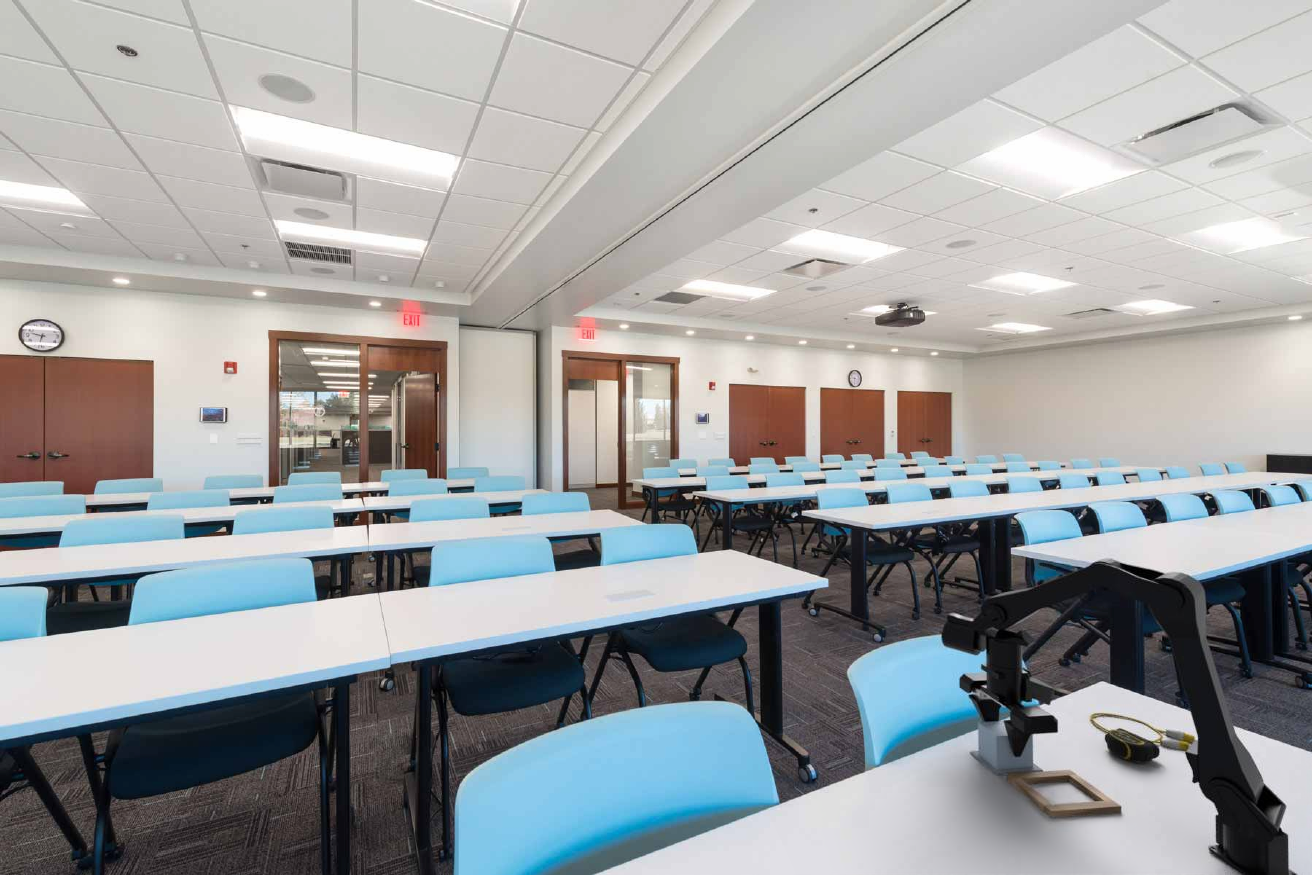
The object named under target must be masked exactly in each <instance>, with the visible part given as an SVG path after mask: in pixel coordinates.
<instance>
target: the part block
mask: <svg viewBox="0 0 1312 875" xmlns="http://www.w3.org/2000/svg"><path fill="white" fill-rule="evenodd" d="M977 732H978V733H977V734H978V735H977V737H978V738H977V740H978V743H977V744H978V745H977V746H978V747H977V748H978V750H977V751H979V755H980V756H981V757H983V758H984V759H985V760H986V761H987V762H988V763H990V764H991V765H992V766H993V767H994V768H995V769H1013V768H1029V767H1033V763H1034V738H1033V737H1034V734H1031V736H1030V738H1029V739H1028V742H1027V744H1026V746H1025V748H1024V751H1023V753H1022V755H1021V757H1015V756H1014V754H1013V752H1012V749H1011V746H1010V742H1009V739H1008V735H1007V732H1006V728H1005V725H1004V721H1003V720H999V721H994V722H983V721H979V722H977Z"/></svg>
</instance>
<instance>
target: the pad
mask: <svg viewBox="0 0 1312 875" xmlns="http://www.w3.org/2000/svg"><path fill="white" fill-rule="evenodd" d="M969 754H971V755H972V756H973V757H974V758H975V759H977V761H979V762H980V763H981V764H982V765H984V766H985V767H986V769H988V770H989V771H991V772H992V773H993V774H994V775H996V776H997V775H1007V774H1011V773H1026V772H1041V771H1044V770H1043V769H1042V768H1040V766H1038V765H1037V764H1035V763H1034V762H1033V767H1029V768H1013V769H995V768H994V767H993V766H992V765H991V764H990V763H988V762H987V761H986V760H985V759H984V758H983V757H981V756H980V755H979V751H978V750H971V751H970V752H969Z"/></svg>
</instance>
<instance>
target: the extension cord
mask: <svg viewBox="0 0 1312 875" xmlns="http://www.w3.org/2000/svg"><path fill="white" fill-rule="evenodd" d="M1112 716H1114V717H1113V718H1119V717H1120V719H1124V718H1125V719H1124V720H1128V721H1129V720H1130V721H1134V722H1138V723H1141V724H1144V726H1147V727H1149V728H1150V729H1152V730H1153V731H1154V732H1155V733H1157V734H1158V735H1160V736H1159V737H1158V738H1157V739H1154V740H1150V739H1148V740H1149V741H1151V742H1153V743H1154V744H1160V745H1161V746H1162V747H1164V748H1165V747H1166V748H1169V749H1175V750H1180V751H1187V749H1188V748H1189V747H1190V745H1191V744H1192V742H1193V741H1194V740H1196V739H1195V738H1196V737H1195V735H1193V734H1189V733H1185V732H1183V731H1180V730H1174V729H1165V730H1162V729H1158V728H1155V727H1153V726H1152V725H1150V724H1148V723H1146V722H1144V721H1141V720H1139V719H1136V718H1132V717H1129V716H1124V715H1121V714H1120V715H1119V714H1114V713H1107V712H1106V713H1104V712H1096V713H1092V714H1091V715H1090V716H1089V717H1090V718H1089V719H1090V721H1089V722H1091V724H1092V725H1093V726H1094V727H1096V728H1097V729H1099V730H1101V731H1103V732H1105V733H1106V734H1107V733H1108V731H1110V730H1109V729H1107V728H1105V727H1103V726H1102V725H1100V724H1099V723H1098V722H1096V721H1095V720H1094V719H1096V718H1099V717H1112ZM1162 733H1164V734H1165V735H1166V736H1168V737H1171V738H1172V739H1163V738H1164V737H1163V734H1162Z"/></svg>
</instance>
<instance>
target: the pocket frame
mask: <svg viewBox="0 0 1312 875" xmlns="http://www.w3.org/2000/svg"><path fill="white" fill-rule="evenodd" d="M1006 781H1008V782H1009V783H1011V785H1013V787H1015V788H1016V789H1018V791H1020V792H1021V793H1022V794H1023V796H1026V797H1027V798H1028V799H1029V800H1030V801H1031V802H1032V803H1034V804H1035V806H1038V807H1039V808H1040V809H1041V810H1042V811H1043V812H1044V813H1045V814H1046V815H1048V816H1049V817H1050V818H1060V817H1061V818H1063V817H1066V818H1067V817H1078V816H1090V815H1091V816H1092V815H1106V814H1119V813H1122V805H1121V804H1119V803H1117V801H1115V800H1113V799H1112V798H1110V797H1109V796H1107V795H1106V794H1105V793H1104V792H1102V791H1101V790H1099V789H1098V788H1097V787H1095V786H1094V785H1093V784H1091V783H1089V782H1088V781H1087V780H1086V779H1084V778H1082V776H1080V775H1078V774H1077V773H1076V772H1074V771H1073V770H1071V769H1062V770H1061V769H1060V770H1059V769H1057V770H1043V771H1041V772H1026V773H1011V774H1006ZM1056 782H1057V783H1059V782H1070V783H1071V784H1073V785H1074V786H1075V787H1077V788H1079V789H1080V790H1081V791H1082V792H1084V793H1085V794H1086V795H1087V796H1089V797H1090V798H1091V799H1093V801H1081V802H1070V803H1055V804H1053V803H1052V802H1050V801H1049V800H1048V799H1047V798H1046V797H1044V795H1041V793H1039V792H1038V791H1037V790H1036V789H1034V788H1033V786H1031V785H1030V784H1040V783H1041V784H1042V783H1043V784H1044V783H1056Z"/></svg>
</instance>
